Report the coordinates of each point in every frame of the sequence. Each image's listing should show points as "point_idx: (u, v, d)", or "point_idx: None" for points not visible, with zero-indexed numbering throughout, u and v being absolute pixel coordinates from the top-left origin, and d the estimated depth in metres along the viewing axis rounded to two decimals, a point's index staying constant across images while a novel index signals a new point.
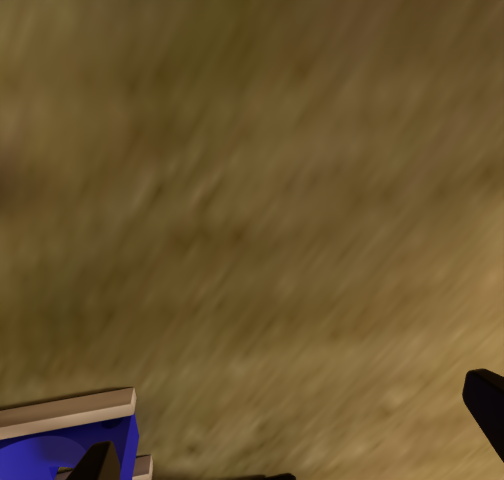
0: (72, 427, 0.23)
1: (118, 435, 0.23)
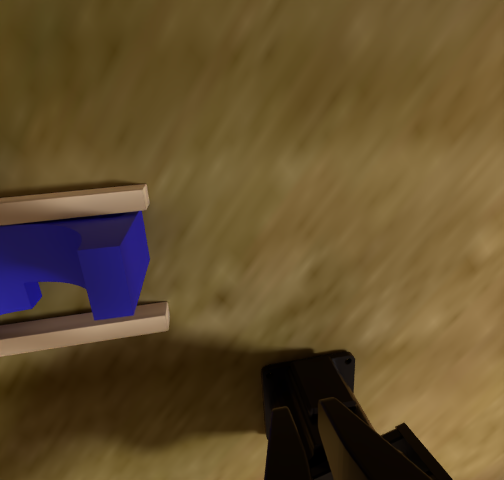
0: None
1: (120, 220, 0.16)
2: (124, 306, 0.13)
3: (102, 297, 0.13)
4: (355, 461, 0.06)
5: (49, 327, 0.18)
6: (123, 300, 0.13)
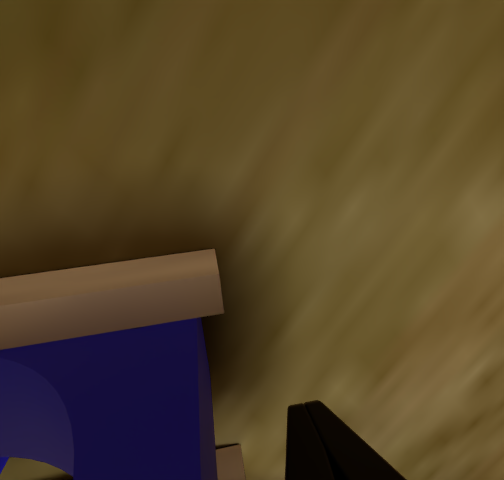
0: None
1: (166, 341, 0.07)
2: None
3: None
4: (335, 465, 0.06)
5: None
6: None
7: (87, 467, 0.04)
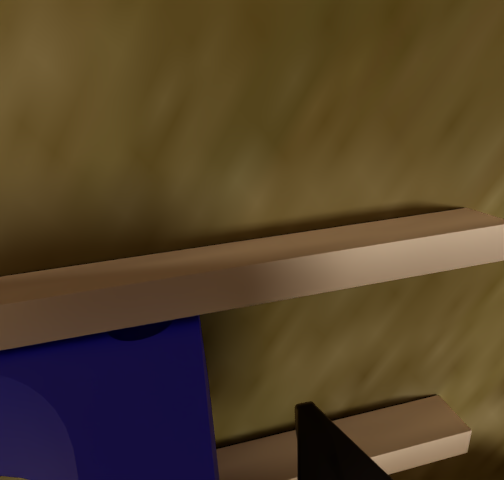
0: None
1: (169, 354, 0.07)
2: None
3: None
4: (325, 468, 0.06)
5: (280, 463, 0.10)
6: None
7: None
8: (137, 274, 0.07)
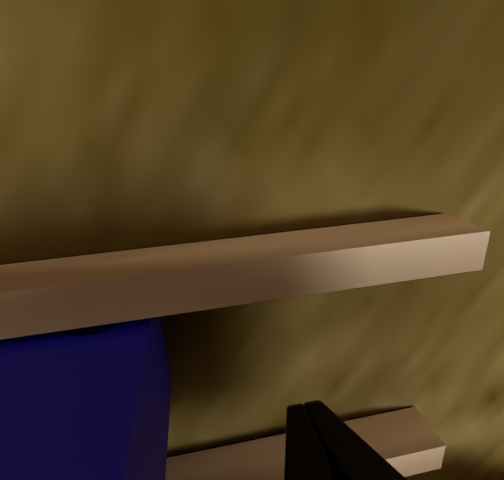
0: None
1: (112, 351, 0.06)
2: None
3: None
4: (336, 465, 0.06)
5: (243, 472, 0.10)
6: None
7: None
8: (84, 273, 0.07)
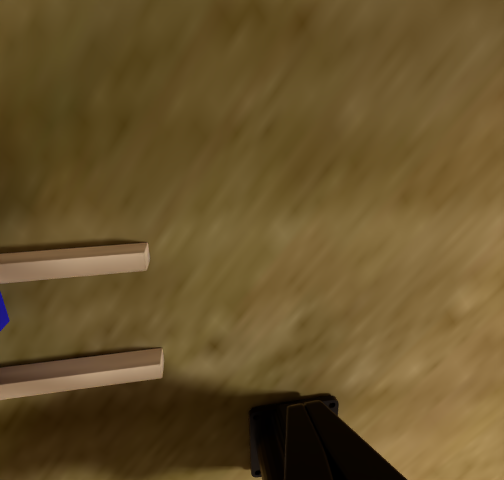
0: None
1: None
2: None
3: None
4: (336, 465, 0.06)
5: (49, 372, 0.19)
6: None
7: None
8: None
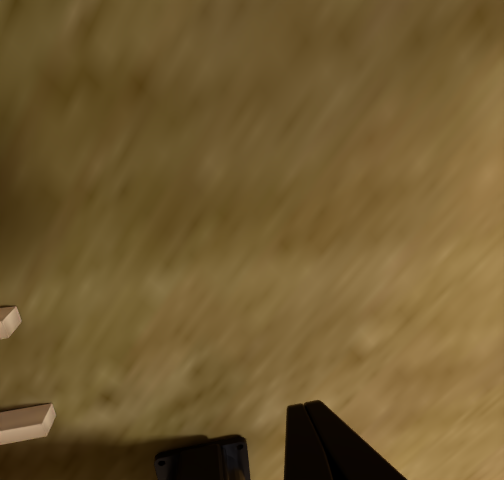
0: None
1: None
2: None
3: None
4: (336, 465, 0.06)
5: None
6: None
7: None
8: None
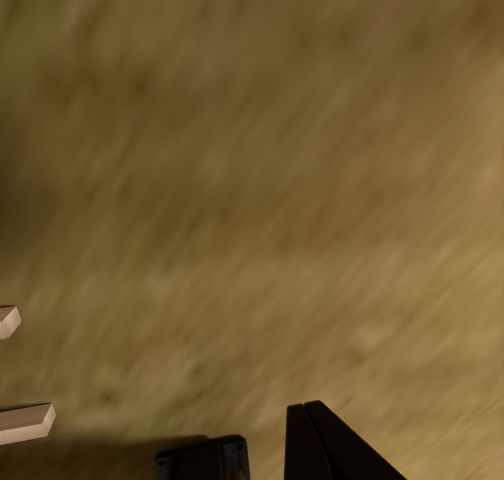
0: None
1: None
2: None
3: None
4: (336, 465, 0.06)
5: None
6: None
7: None
8: None
